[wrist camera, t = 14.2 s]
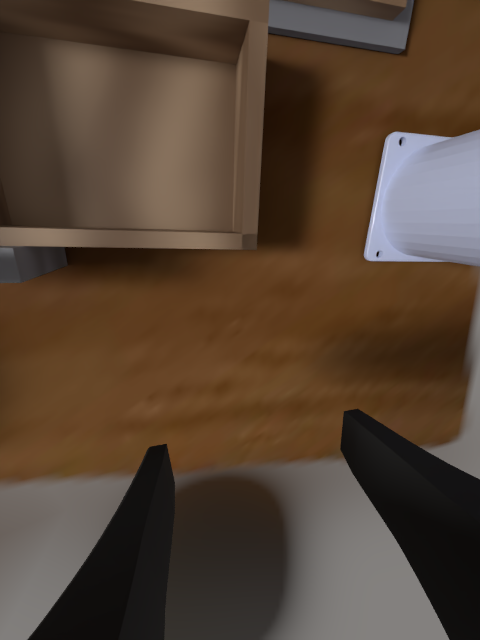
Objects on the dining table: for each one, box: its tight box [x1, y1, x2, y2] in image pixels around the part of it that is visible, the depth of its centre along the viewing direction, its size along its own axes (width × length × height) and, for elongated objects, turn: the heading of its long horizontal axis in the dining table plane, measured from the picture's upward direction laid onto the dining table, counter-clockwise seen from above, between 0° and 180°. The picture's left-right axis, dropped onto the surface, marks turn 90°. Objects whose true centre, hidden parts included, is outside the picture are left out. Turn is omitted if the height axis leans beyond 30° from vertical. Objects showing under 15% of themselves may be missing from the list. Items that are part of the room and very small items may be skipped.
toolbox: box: [0, 0, 270, 283], centre depth 11 cm, size 19×13×7 cm
